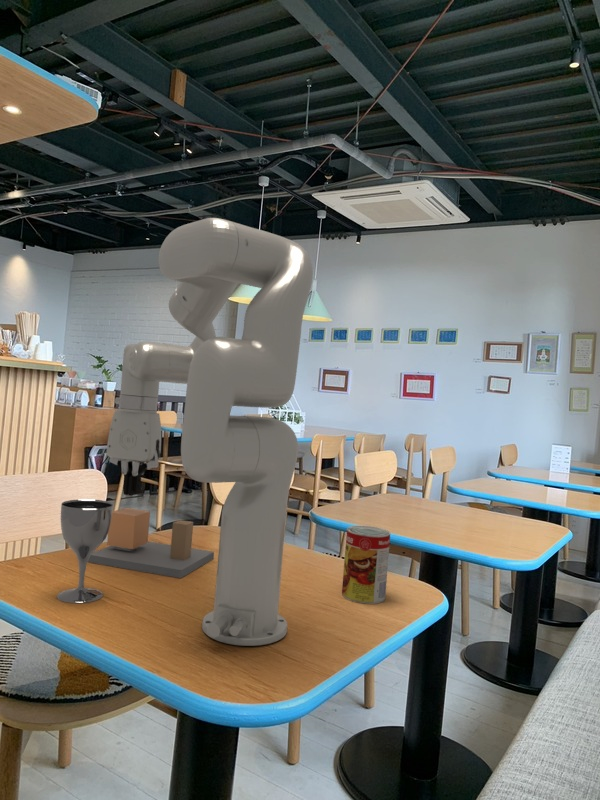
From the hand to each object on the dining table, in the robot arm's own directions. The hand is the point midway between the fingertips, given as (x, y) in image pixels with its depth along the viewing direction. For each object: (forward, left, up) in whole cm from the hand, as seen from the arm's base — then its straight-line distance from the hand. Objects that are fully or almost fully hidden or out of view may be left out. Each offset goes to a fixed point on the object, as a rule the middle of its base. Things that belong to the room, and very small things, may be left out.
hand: (131, 494), depth 120 cm
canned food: (-1, -49, -13) cm, 51 cm away
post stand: (0, -6, -13) cm, 14 cm away
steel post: (0, 0, -11) cm, 11 cm away
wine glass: (-24, -6, -13) cm, 28 cm away
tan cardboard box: (0, 0, -10) cm, 10 cm away
